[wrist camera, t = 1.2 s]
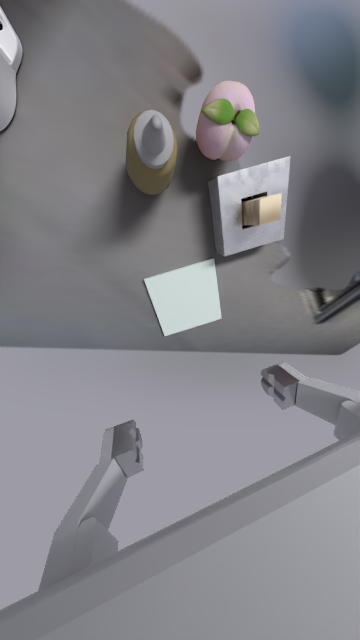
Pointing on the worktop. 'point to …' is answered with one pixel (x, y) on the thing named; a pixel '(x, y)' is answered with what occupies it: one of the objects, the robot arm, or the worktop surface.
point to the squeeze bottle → (151, 152)
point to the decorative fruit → (227, 122)
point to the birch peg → (261, 210)
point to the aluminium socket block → (229, 211)
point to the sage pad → (185, 296)
